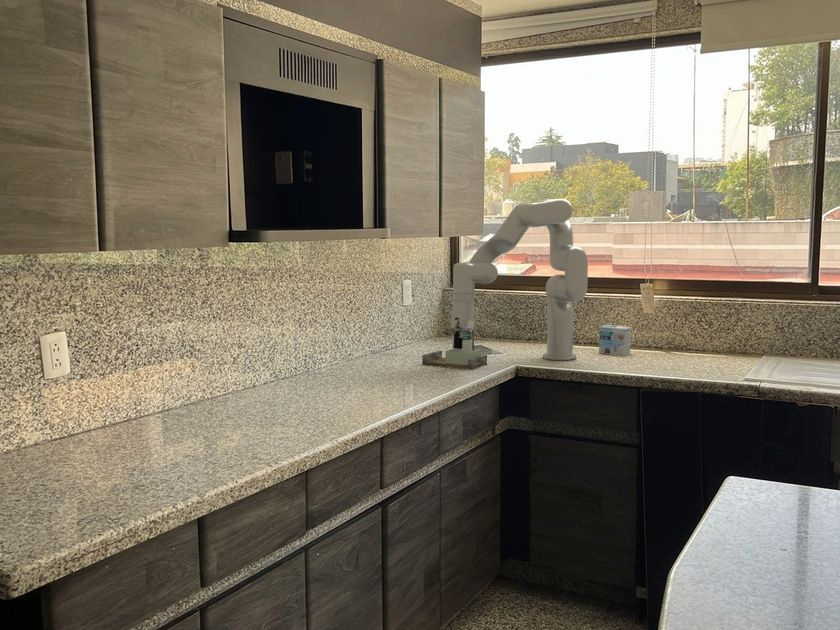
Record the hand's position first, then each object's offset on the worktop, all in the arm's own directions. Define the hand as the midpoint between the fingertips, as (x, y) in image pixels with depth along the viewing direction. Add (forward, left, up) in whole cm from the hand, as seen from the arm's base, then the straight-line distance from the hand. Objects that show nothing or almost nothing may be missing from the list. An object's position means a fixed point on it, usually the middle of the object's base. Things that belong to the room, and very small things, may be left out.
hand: (463, 346), depth 274 cm
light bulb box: (-54, +39, -7) cm, 67 cm away
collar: (0, 0, -6) cm, 6 cm away
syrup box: (0, 0, -5) cm, 5 cm away
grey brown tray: (0, -3, -7) cm, 8 cm away
